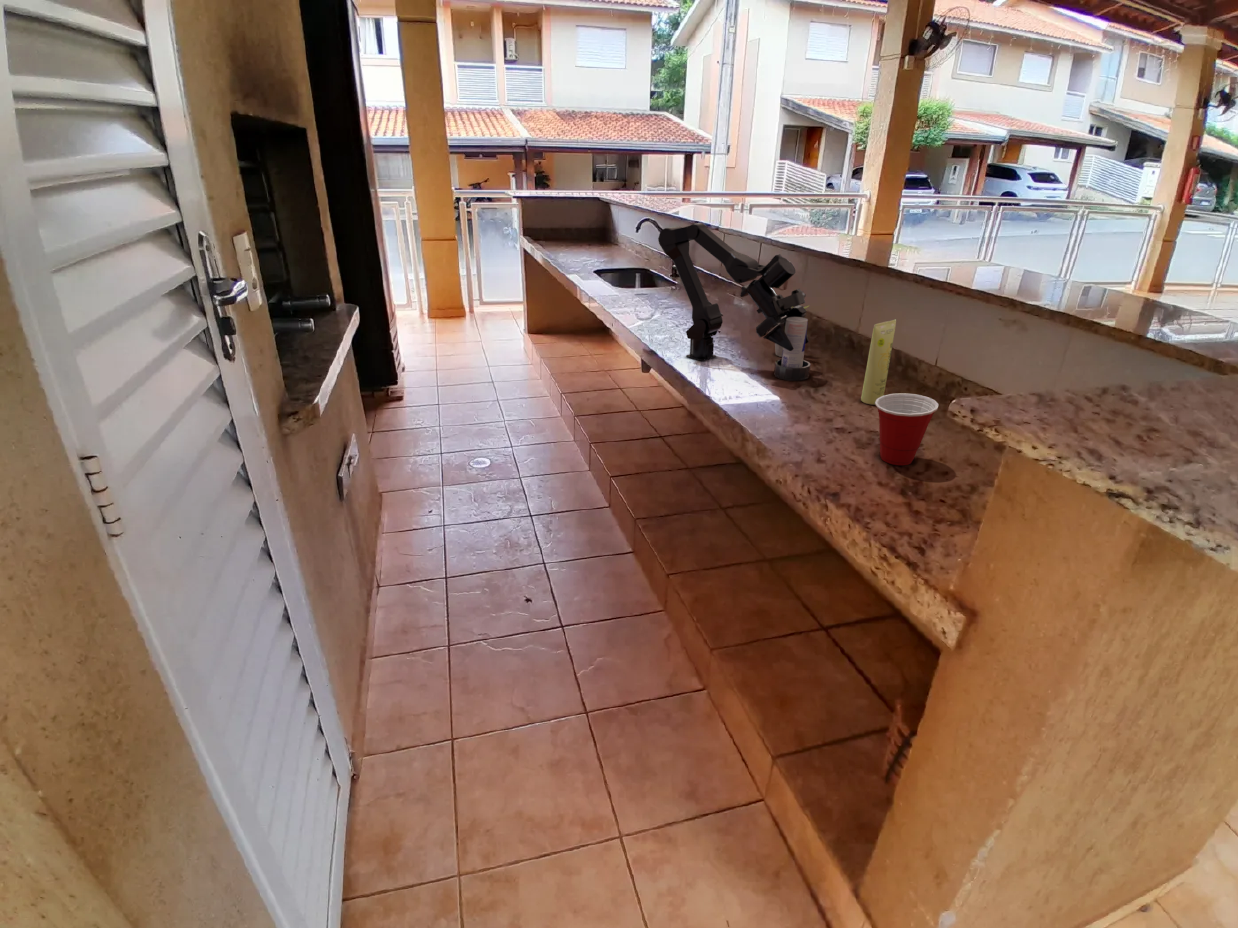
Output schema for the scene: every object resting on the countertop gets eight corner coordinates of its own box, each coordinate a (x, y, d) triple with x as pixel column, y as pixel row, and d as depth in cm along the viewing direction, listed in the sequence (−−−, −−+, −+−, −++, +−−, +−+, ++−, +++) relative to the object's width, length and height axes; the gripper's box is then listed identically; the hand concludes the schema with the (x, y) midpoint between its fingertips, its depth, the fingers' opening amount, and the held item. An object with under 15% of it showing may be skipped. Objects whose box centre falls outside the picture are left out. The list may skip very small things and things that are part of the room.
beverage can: (805, 375, 166) (812, 320, 159) (786, 377, 165) (792, 321, 158) (795, 369, 171) (801, 315, 164) (776, 371, 170) (782, 317, 163)
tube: (883, 407, 145) (898, 324, 137) (860, 405, 147) (874, 323, 138) (881, 399, 150) (896, 319, 142) (859, 397, 152) (873, 318, 143)
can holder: (767, 375, 168) (768, 363, 167) (786, 368, 174) (787, 356, 172) (796, 383, 162) (797, 370, 160) (815, 375, 167) (817, 363, 166)
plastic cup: (856, 449, 124) (865, 392, 119) (907, 446, 125) (919, 390, 120) (881, 473, 114) (892, 413, 109) (936, 470, 115) (951, 410, 110)
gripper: (771, 284, 153) (807, 335, 151) (803, 275, 165) (837, 321, 164) (740, 312, 161) (775, 361, 159) (774, 301, 174) (806, 345, 172)
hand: (799, 346), depth 163 cm, fingers open, 9 cm apart
